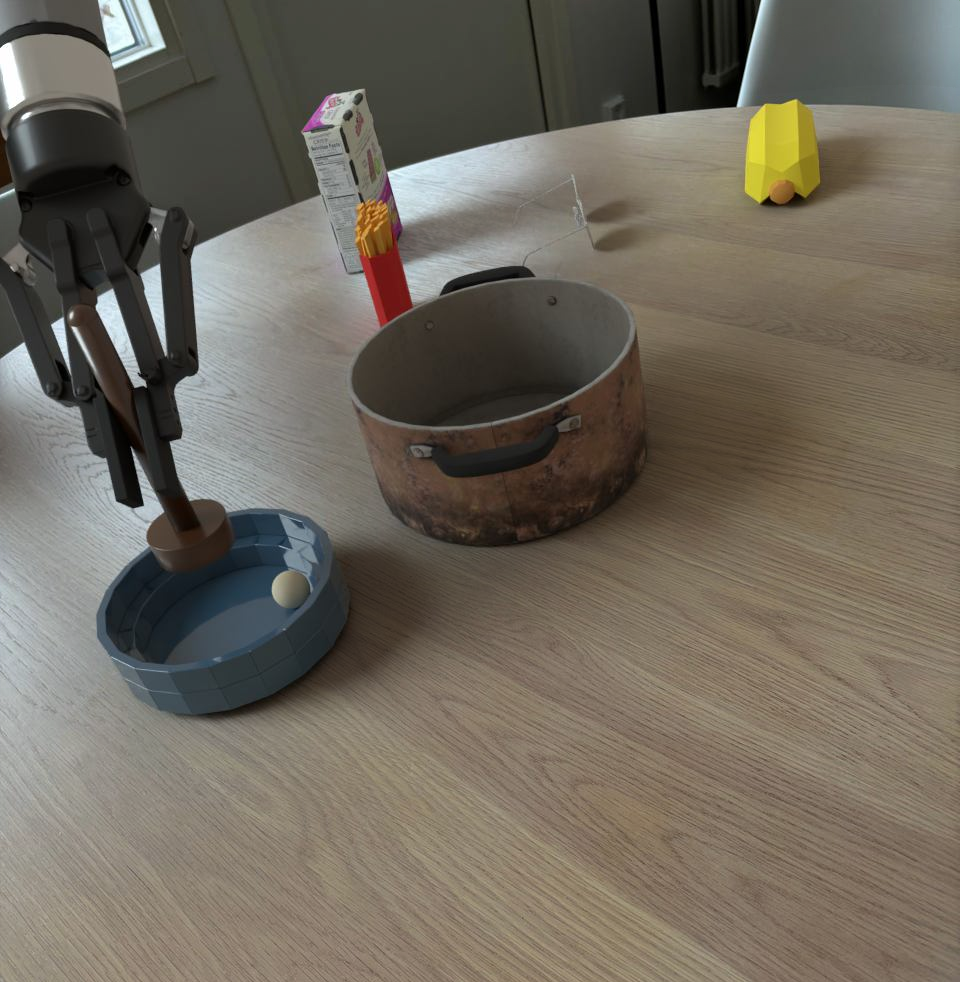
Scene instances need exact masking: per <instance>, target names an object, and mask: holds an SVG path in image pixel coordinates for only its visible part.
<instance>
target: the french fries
mask: <svg viewBox="0 0 960 982" xmlns="http://www.w3.org/2000/svg"><path fill="white" fill-rule="evenodd" d="M365 204H366V206H364V204H363V202H362V204H361V203H360V204H359V205H358V207H357V213H358V215H359V216H358V217H357V221H356V223H357V228H356V229H355V233H356V236H357V238H356V239H355V243H356V245H357V248H358V250H359V253H360V255H359V257H360V261H361V264H362V267H363V270H364V272H363V274H364V277H365V280H366V283H367V287H368V290H369V294H370V296H371V301H372V303H373V307H374V310H375V313H376V317H377V320H378V323H379V327H380V328H381V327H383V326H384V325H386V324H387V323H388V322H390V321H391V320H393V319H394V318H396V317H397V316H399V315H401V314H403V313H405V312H407V311H408V310H410V309H412V308H414V304H413V300H412V295H411V293H410V289H409V288H410V287H409V284H408V281H407V277H406V276H407V275H406V273H405V269H404V266H403V262H402V257H401V253H400V250H399V245H398V242H397V241H398V240H397V241H396V238H395V234H394V230H393V227H392V226H390V219H389V211H388V207H387V205H386V203H385V204H384V205H383V203H382V200H381V201H380V202H379V203H378V204H377V207H376V201H375V200H373V201H372V202H371V200H370V199H369V200H368V201H367V202H366V203H365Z"/></svg>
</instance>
